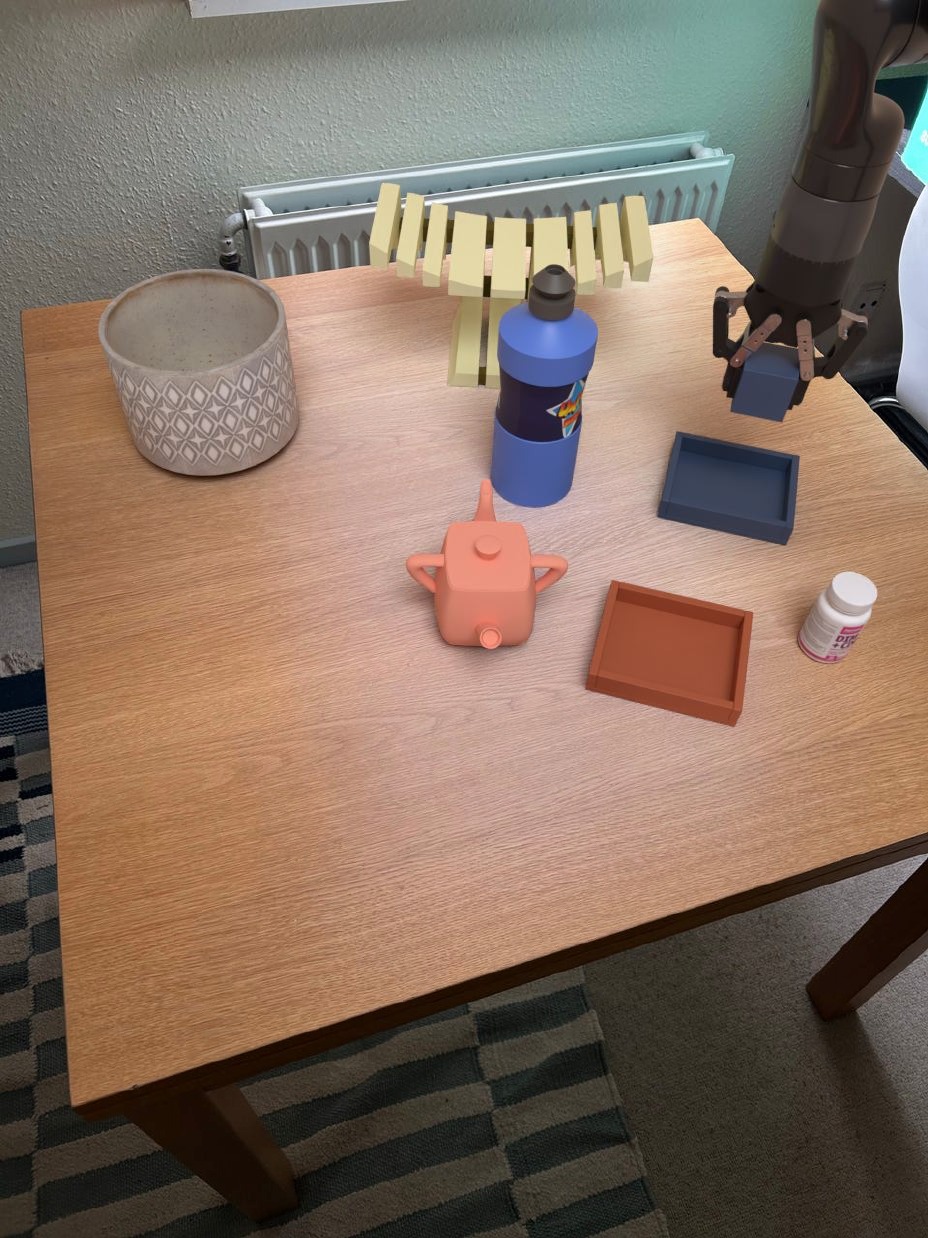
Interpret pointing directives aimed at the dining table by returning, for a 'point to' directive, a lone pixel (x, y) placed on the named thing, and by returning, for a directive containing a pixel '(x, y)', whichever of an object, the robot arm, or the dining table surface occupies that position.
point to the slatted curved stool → (504, 262)
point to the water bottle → (541, 391)
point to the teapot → (486, 579)
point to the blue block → (767, 382)
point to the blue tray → (731, 488)
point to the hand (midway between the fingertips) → (759, 398)
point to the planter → (202, 370)
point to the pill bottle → (838, 617)
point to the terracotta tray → (672, 653)
